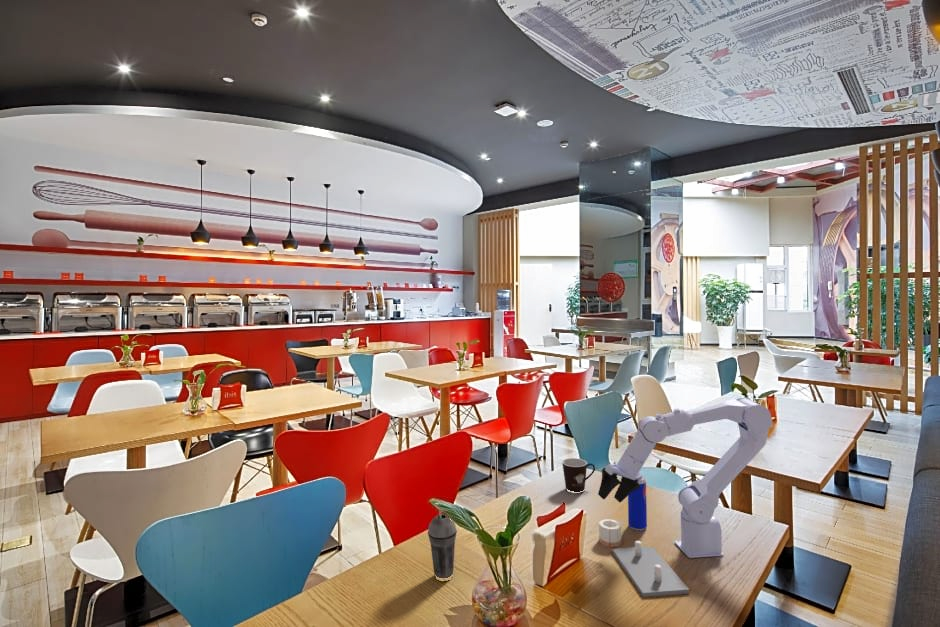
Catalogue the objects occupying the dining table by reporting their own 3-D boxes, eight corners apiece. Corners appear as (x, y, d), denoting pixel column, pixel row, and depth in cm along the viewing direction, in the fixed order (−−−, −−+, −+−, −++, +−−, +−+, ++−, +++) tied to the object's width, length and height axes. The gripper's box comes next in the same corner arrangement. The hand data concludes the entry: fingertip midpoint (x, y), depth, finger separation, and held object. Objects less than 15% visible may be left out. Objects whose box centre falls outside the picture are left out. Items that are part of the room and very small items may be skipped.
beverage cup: (462, 571, 121) (459, 494, 120) (452, 587, 114) (449, 506, 113) (436, 566, 123) (433, 491, 123) (424, 582, 117) (421, 503, 116)
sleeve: (616, 535, 136) (615, 518, 136) (623, 546, 130) (623, 528, 130) (597, 537, 136) (596, 520, 135) (604, 547, 130) (603, 529, 130)
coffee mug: (563, 494, 165) (562, 466, 164) (562, 484, 173) (561, 457, 173) (597, 496, 163) (597, 467, 163) (595, 486, 171) (594, 458, 171)
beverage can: (648, 531, 138) (647, 481, 137) (629, 530, 139) (628, 480, 138) (645, 523, 143) (644, 474, 142) (627, 522, 144) (626, 473, 143)
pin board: (612, 552, 127) (612, 536, 127) (651, 549, 128) (651, 533, 128) (643, 597, 109) (642, 578, 108) (689, 593, 109) (689, 574, 109)
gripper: (638, 452, 136) (614, 492, 138) (608, 443, 128) (583, 485, 130) (657, 468, 130) (632, 508, 132) (627, 459, 122) (601, 502, 124)
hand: (609, 498), depth 130 cm, fingers open, 7 cm apart
